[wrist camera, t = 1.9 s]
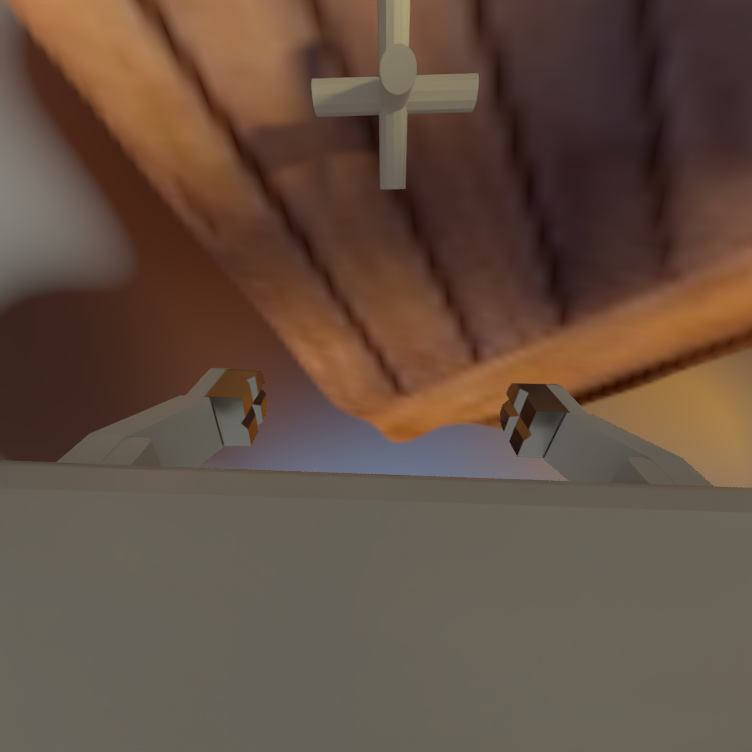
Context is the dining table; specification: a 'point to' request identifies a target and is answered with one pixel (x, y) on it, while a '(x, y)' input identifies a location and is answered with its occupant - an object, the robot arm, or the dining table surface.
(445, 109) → the pipe connector
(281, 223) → the dining table surface
